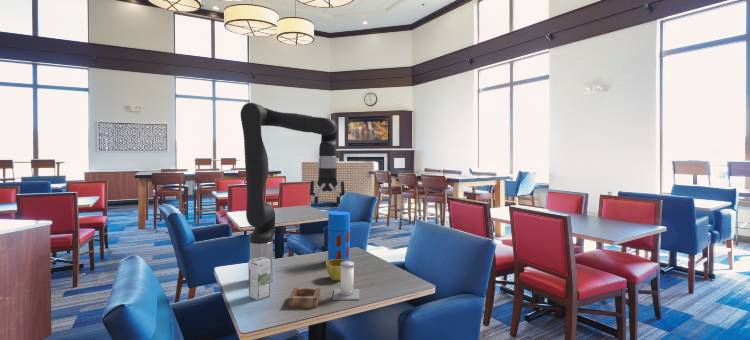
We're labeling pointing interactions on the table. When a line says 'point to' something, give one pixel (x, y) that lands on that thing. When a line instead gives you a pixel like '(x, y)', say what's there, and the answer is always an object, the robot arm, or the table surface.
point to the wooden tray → (304, 298)
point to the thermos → (339, 235)
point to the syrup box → (259, 278)
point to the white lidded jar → (347, 278)
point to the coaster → (340, 297)
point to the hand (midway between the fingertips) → (327, 205)
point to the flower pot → (334, 268)
